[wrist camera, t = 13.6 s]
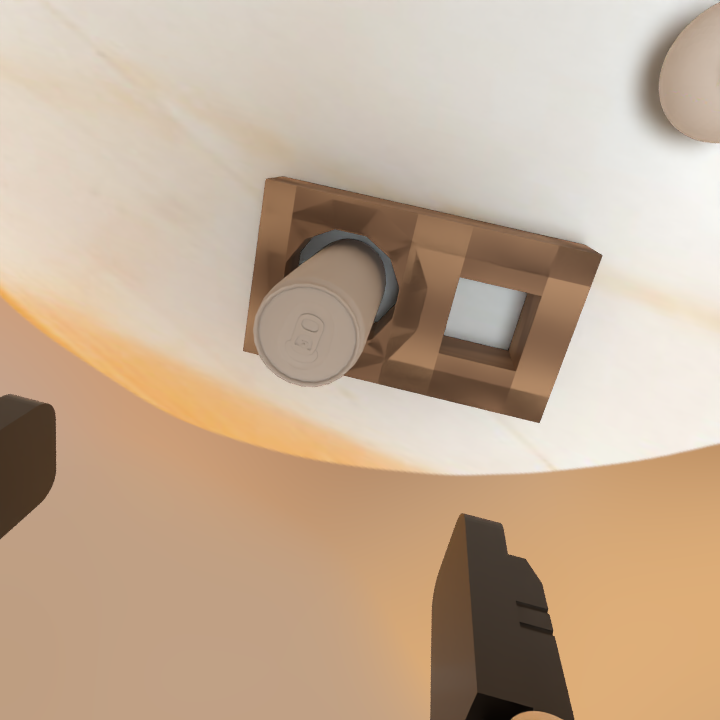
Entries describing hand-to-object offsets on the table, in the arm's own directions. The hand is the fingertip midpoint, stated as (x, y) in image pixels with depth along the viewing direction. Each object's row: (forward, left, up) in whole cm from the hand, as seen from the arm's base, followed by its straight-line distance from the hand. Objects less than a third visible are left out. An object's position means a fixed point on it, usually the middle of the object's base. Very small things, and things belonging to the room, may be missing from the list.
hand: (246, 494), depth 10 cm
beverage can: (+1, -2, -25) cm, 25 cm away
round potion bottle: (-12, +14, -25) cm, 31 cm away
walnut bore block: (+1, +2, -24) cm, 24 cm away
